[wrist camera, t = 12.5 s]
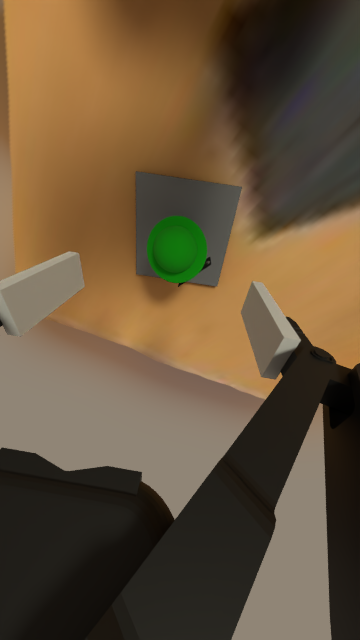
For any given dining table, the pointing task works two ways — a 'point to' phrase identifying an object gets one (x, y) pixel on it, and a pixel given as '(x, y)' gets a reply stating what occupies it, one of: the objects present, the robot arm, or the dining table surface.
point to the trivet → (191, 202)
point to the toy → (177, 249)
